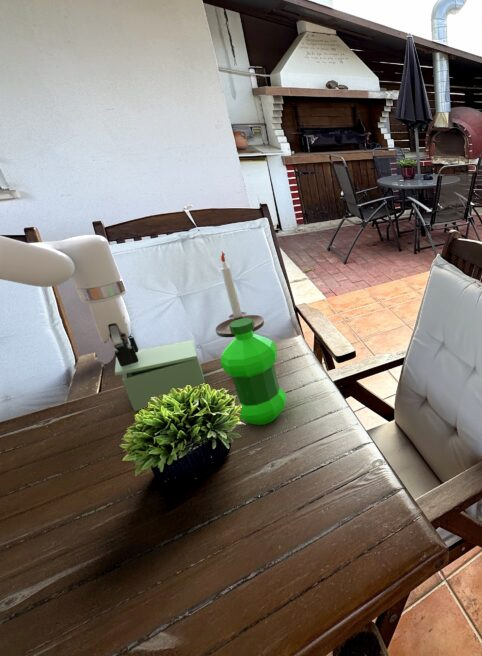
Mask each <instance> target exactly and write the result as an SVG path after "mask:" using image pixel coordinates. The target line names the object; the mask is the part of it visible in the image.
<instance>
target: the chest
mask: <svg viewBox="0 0 482 656" xmlns="http://www.w3.org/2000/svg"><path fill="white" fill-rule="evenodd" d="M194 347H195V351H196V355H197V359H193V360H188V361H184V362H179V363H174V364H169V365H164V366H160V367H155V368H150V369H145V370H141V371H136V372H131V373H126V374H122V380H121V381H122V384H123V387H124V388H125V391H126V395H127V396H128V399H129V401H130V404H131V406H132V409H133V411H134V412H137V411H140V409H141V408H144V407H146V406H147V405H148V402H149V400H150V398H151V397H154V396H159V395H161V394H168V393H169V392H170V390H171V389H172V388H183V387H185V386H186V385H191V386H198V385H200V384H203V383H205V384H206V380H205V376H204V371H203V369H202V368H203V367H202V364H201V362H200V359H199V355H198V353H197V349H196V346H195V345H194ZM144 409H145V408H144ZM141 410H142V409H141Z"/></svg>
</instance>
